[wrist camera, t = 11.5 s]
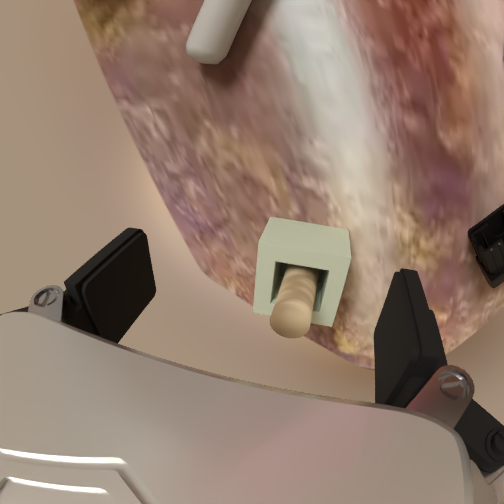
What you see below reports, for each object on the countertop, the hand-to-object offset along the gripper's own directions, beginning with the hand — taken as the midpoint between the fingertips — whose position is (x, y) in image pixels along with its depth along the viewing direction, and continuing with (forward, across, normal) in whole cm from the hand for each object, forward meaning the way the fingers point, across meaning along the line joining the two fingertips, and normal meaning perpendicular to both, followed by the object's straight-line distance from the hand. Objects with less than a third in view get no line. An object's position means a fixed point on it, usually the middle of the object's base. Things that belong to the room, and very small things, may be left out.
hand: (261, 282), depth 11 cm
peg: (+25, 0, +15) cm, 29 cm away
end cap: (+27, -28, +7) cm, 39 cm away
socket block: (+26, 0, +15) cm, 30 cm away
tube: (+27, +8, -21) cm, 35 cm away
